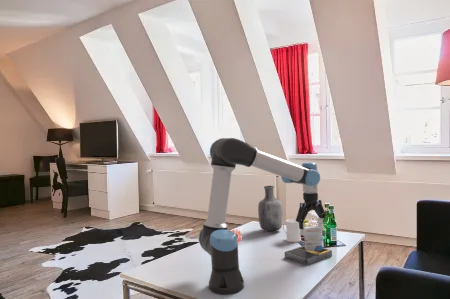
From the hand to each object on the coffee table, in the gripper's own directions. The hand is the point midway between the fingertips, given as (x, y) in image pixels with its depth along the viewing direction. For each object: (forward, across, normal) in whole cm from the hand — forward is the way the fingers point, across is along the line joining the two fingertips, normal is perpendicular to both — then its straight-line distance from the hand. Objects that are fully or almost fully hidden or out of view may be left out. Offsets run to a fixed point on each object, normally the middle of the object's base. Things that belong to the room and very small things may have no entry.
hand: (311, 232), depth 180 cm
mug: (+12, +12, +27) cm, 32 cm away
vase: (+12, +16, +50) cm, 54 cm away
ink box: (+9, +1, 0) cm, 9 cm away
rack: (+12, -3, 0) cm, 12 cm away
